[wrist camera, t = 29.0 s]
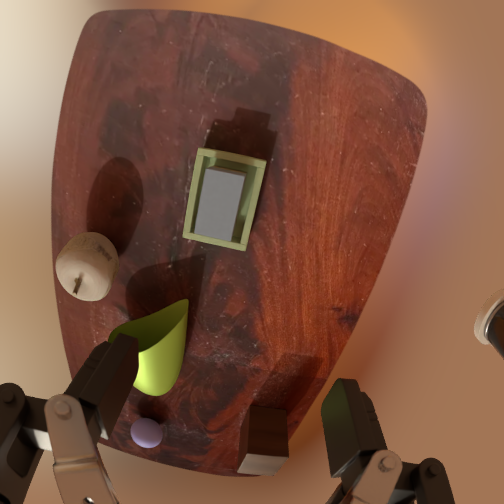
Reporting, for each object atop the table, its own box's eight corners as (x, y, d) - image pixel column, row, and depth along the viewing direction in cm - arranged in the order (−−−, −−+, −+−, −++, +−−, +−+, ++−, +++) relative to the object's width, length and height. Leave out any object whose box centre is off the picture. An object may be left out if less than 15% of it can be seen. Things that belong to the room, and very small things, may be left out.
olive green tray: (203, 147, 32) (198, 147, 29) (266, 160, 32) (266, 161, 30) (188, 230, 36) (182, 237, 33) (246, 243, 36) (245, 251, 33)
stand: (249, 404, 47) (247, 453, 37) (286, 409, 48) (289, 457, 37) (240, 428, 50) (236, 472, 40) (273, 432, 51) (273, 476, 40)
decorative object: (89, 213, 35) (46, 235, 26) (139, 242, 36) (104, 274, 27) (76, 262, 38) (38, 292, 29) (121, 291, 39) (89, 328, 30)
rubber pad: (210, 166, 30) (205, 168, 27) (246, 173, 30) (245, 176, 28) (198, 226, 32) (193, 233, 30) (233, 234, 32) (230, 241, 30)
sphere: (170, 430, 52) (163, 454, 46) (144, 428, 53) (136, 451, 46) (158, 412, 50) (149, 438, 43) (130, 410, 51) (120, 434, 44)
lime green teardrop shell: (91, 317, 30) (122, 406, 39) (187, 322, 32) (193, 411, 41) (106, 283, 37) (128, 373, 46) (189, 286, 39) (192, 376, 48)
